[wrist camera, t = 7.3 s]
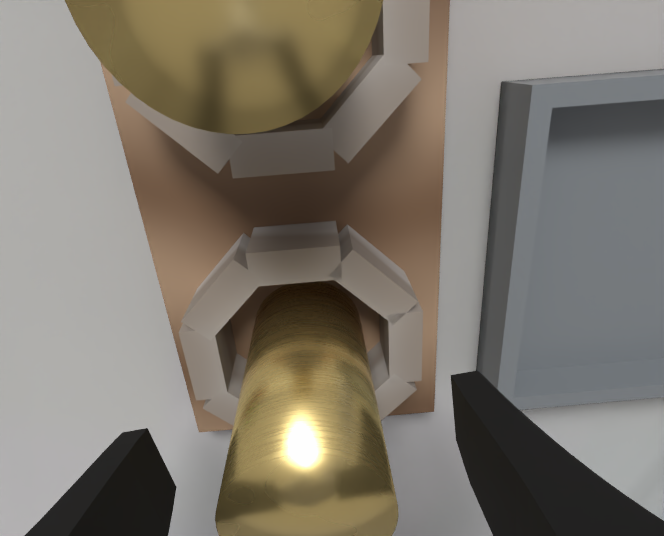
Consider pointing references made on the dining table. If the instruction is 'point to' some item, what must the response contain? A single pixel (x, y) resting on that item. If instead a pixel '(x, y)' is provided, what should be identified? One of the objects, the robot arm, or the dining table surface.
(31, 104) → the dining table surface
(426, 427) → the dining table surface
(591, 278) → the grey square tray
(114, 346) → the dining table surface
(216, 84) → the cylinder
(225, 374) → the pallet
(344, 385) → the cylinder
